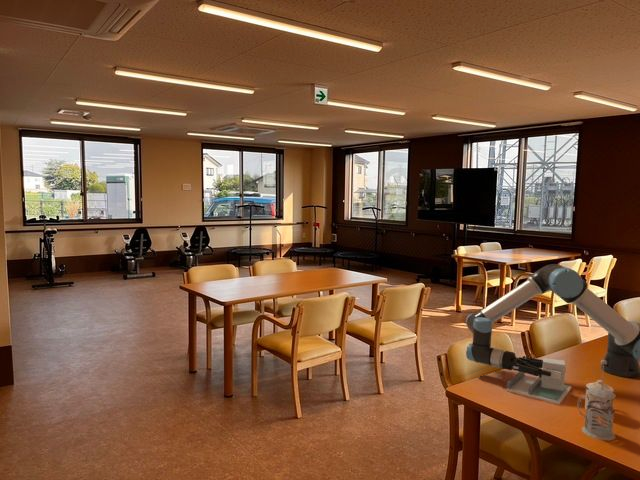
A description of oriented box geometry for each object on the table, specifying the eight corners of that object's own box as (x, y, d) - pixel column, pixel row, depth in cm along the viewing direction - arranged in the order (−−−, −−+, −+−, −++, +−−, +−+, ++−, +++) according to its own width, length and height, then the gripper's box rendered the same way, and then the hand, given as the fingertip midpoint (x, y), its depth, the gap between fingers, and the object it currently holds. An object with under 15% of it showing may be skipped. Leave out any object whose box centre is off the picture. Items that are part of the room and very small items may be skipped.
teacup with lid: (608, 419, 170) (610, 387, 169) (580, 411, 177) (582, 380, 176) (618, 409, 179) (620, 379, 177) (591, 401, 185) (593, 372, 184)
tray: (571, 388, 197) (571, 380, 197) (559, 404, 182) (559, 395, 181) (521, 376, 209) (522, 368, 209) (506, 390, 194) (506, 382, 194)
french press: (619, 442, 155) (625, 366, 152) (579, 436, 158) (584, 362, 156) (610, 428, 164) (616, 356, 162) (573, 423, 167) (578, 352, 165)
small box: (563, 386, 193) (565, 360, 192) (563, 391, 188) (565, 365, 187) (541, 382, 196) (543, 357, 195) (541, 387, 191) (542, 361, 190)
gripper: (510, 361, 212) (568, 375, 198) (494, 374, 196) (555, 390, 182) (511, 345, 211) (569, 357, 197) (495, 356, 196) (557, 370, 181)
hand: (562, 373), depth 189 cm, fingers closed on small box, 7 cm apart
